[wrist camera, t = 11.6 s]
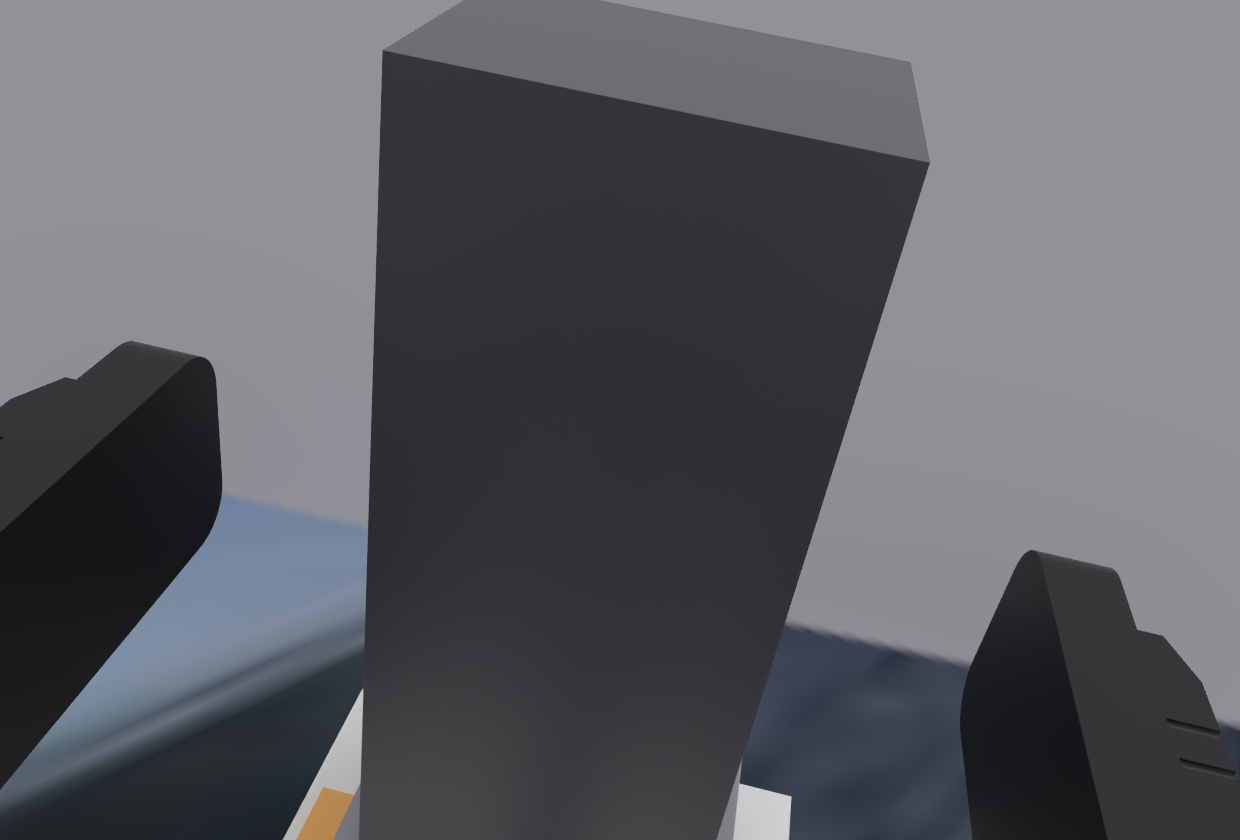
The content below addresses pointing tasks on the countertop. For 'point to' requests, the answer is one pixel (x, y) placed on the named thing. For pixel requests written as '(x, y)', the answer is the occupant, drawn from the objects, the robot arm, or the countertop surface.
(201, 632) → the countertop surface
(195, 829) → the countertop surface
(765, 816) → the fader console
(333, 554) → the countertop surface
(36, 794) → the countertop surface
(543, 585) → the fader tab
